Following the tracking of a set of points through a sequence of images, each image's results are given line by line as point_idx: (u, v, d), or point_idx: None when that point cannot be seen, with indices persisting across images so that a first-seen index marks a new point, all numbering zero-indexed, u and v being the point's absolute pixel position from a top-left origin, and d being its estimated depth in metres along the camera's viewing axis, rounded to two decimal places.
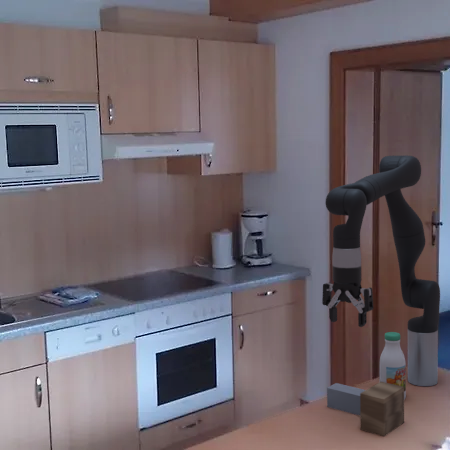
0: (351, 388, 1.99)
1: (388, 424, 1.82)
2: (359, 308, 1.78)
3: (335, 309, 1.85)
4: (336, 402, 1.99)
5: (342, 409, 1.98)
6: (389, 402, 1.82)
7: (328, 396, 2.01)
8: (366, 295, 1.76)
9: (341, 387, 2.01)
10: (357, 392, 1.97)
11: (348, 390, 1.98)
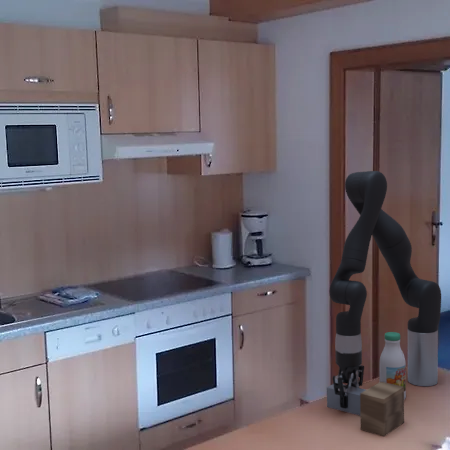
0: (351, 387, 1.99)
1: (388, 424, 1.82)
2: (358, 385, 2.00)
3: None
4: (336, 402, 1.99)
5: (342, 408, 1.98)
6: (389, 402, 1.82)
7: (328, 396, 2.01)
8: (363, 371, 2.02)
9: None
10: (356, 391, 1.97)
11: (348, 389, 1.98)
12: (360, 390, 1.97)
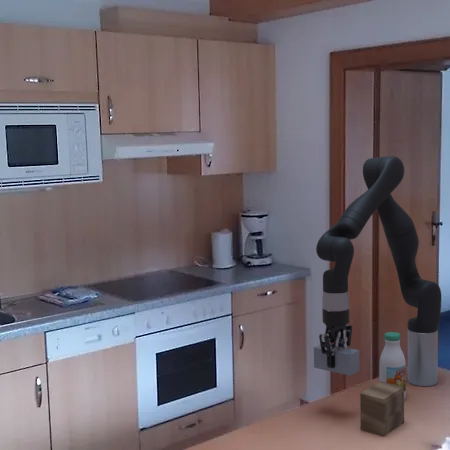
0: (338, 347, 1.95)
1: (388, 424, 1.82)
2: (345, 345, 1.95)
3: None
4: (323, 362, 1.94)
5: (329, 368, 1.93)
6: (389, 402, 1.82)
7: (315, 356, 1.96)
8: (351, 331, 1.97)
9: None
10: (344, 350, 1.92)
11: None
12: (347, 349, 1.93)
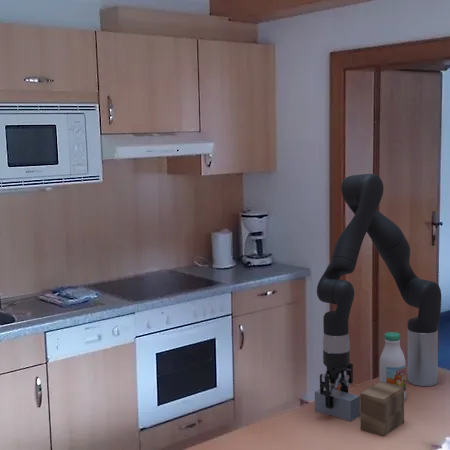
0: (339, 392, 1.97)
1: (388, 424, 1.82)
2: (347, 383, 1.98)
3: None
4: (324, 407, 1.96)
5: (330, 414, 1.95)
6: (389, 402, 1.82)
7: (316, 400, 1.98)
8: (352, 369, 1.99)
9: None
10: (344, 396, 1.94)
11: (336, 394, 1.95)
12: (348, 395, 1.94)
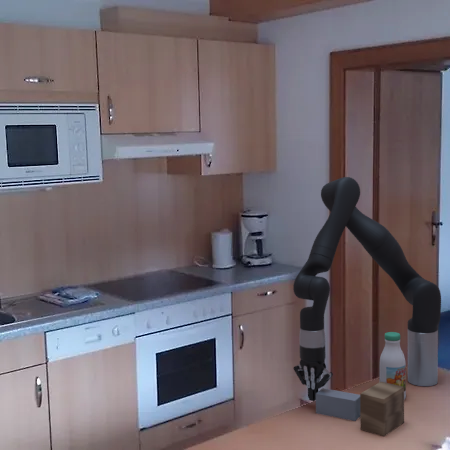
0: (340, 393, 1.96)
1: (388, 424, 1.82)
2: None
3: None
4: (326, 408, 1.95)
5: (332, 415, 1.94)
6: (389, 402, 1.82)
7: (317, 402, 1.96)
8: None
9: (330, 392, 1.97)
10: (347, 396, 1.93)
11: (338, 395, 1.95)
12: (350, 395, 1.94)
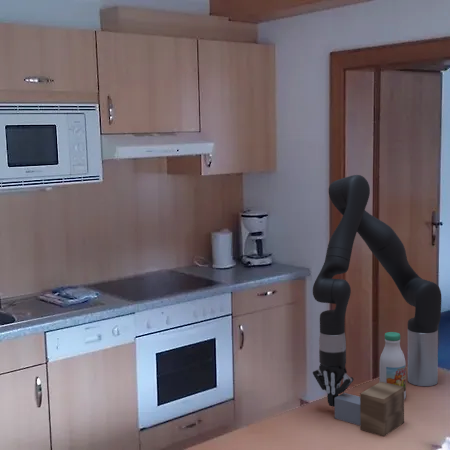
0: None
1: (388, 424, 1.82)
2: None
3: None
4: (344, 413, 1.90)
5: (350, 420, 1.89)
6: (389, 402, 1.82)
7: (336, 407, 1.92)
8: None
9: (350, 397, 1.92)
10: None
11: (357, 400, 1.89)
12: None
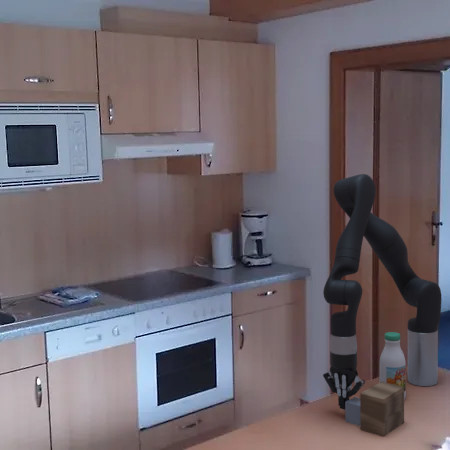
0: None
1: (388, 424, 1.82)
2: None
3: None
4: (355, 418, 1.88)
5: None
6: (389, 402, 1.82)
7: (346, 411, 1.90)
8: None
9: None
10: None
11: None
12: None
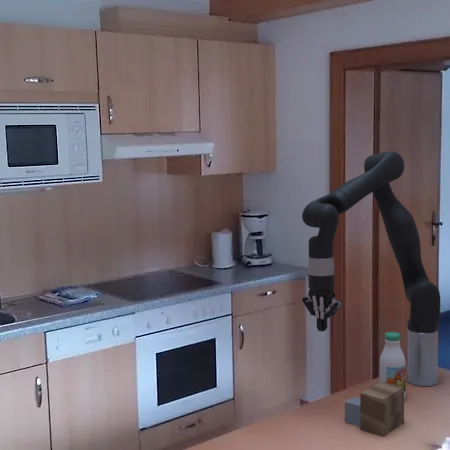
0: None
1: (388, 424, 1.82)
2: None
3: None
4: (355, 418, 1.88)
5: None
6: (389, 402, 1.82)
7: (346, 411, 1.90)
8: None
9: None
10: None
11: None
12: None
